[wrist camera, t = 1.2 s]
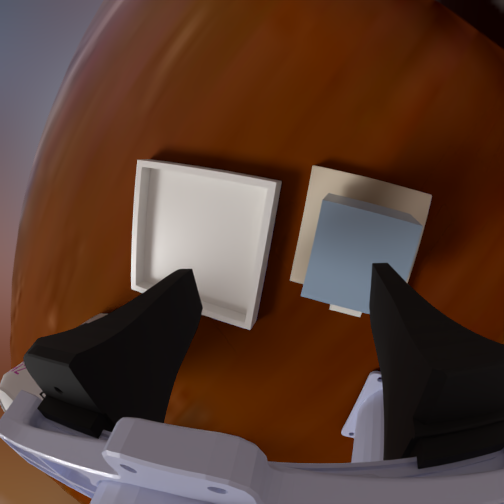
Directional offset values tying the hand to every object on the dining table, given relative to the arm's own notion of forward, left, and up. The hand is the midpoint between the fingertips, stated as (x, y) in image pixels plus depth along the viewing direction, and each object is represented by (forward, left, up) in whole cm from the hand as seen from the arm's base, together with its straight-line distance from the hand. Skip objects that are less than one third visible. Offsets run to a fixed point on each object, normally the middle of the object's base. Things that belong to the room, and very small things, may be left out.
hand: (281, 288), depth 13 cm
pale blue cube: (-3, 0, -8) cm, 9 cm away
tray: (+8, +3, -10) cm, 13 cm away
